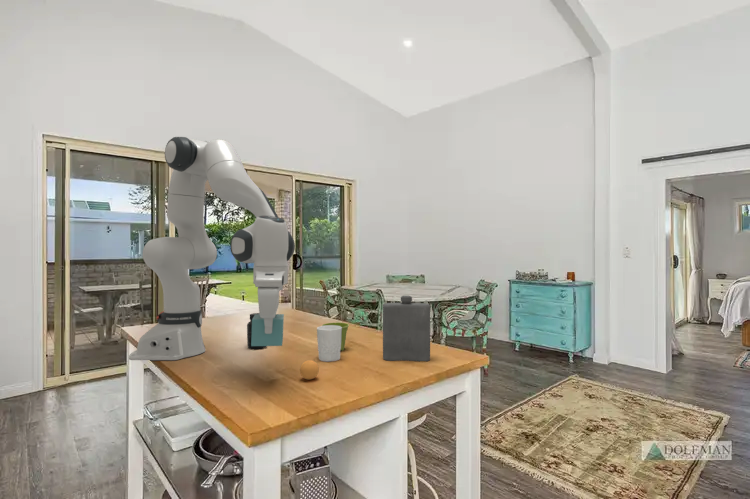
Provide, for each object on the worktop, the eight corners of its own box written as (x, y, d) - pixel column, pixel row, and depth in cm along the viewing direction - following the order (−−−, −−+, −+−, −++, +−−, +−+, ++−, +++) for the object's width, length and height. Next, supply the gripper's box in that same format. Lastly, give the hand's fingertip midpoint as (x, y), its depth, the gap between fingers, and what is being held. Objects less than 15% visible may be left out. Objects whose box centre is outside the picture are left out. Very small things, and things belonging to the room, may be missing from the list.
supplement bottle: (261, 344, 148) (261, 311, 148) (270, 347, 143) (270, 313, 143) (243, 347, 143) (243, 313, 143) (252, 350, 138) (252, 316, 138)
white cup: (337, 363, 123) (337, 330, 123) (313, 361, 125) (313, 329, 125) (344, 356, 131) (344, 325, 131) (321, 355, 133) (321, 324, 133)
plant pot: (348, 353, 135) (347, 327, 135) (319, 353, 135) (319, 327, 135) (350, 346, 144) (350, 322, 144) (323, 346, 144) (323, 322, 144)
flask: (429, 357, 130) (429, 295, 130) (430, 362, 124) (430, 297, 124) (383, 356, 131) (383, 294, 131) (382, 360, 126) (382, 297, 126)
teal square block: (251, 346, 102) (252, 319, 102) (254, 339, 109) (255, 314, 109) (281, 345, 103) (282, 319, 103) (282, 338, 111) (283, 314, 111)
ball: (322, 367, 106) (314, 385, 106) (321, 362, 111) (313, 379, 111) (305, 360, 105) (296, 377, 105) (304, 355, 110) (296, 372, 110)
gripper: (261, 274, 116) (260, 321, 116) (254, 280, 96) (253, 338, 96) (284, 274, 117) (283, 321, 117) (281, 280, 97) (280, 337, 97)
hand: (269, 329), depth 106 cm, fingers closed on teal square block, 8 cm apart
